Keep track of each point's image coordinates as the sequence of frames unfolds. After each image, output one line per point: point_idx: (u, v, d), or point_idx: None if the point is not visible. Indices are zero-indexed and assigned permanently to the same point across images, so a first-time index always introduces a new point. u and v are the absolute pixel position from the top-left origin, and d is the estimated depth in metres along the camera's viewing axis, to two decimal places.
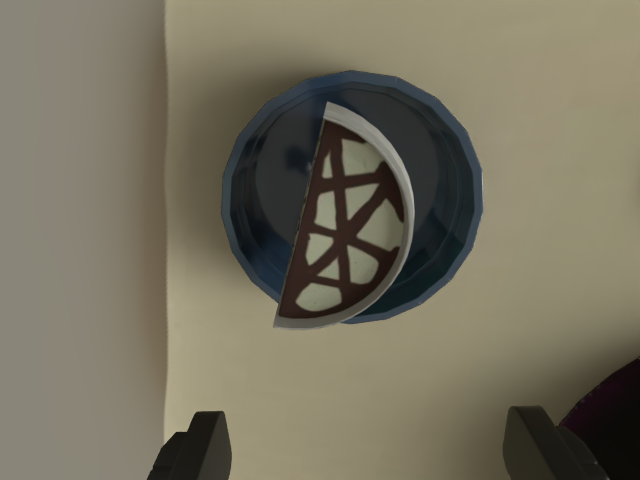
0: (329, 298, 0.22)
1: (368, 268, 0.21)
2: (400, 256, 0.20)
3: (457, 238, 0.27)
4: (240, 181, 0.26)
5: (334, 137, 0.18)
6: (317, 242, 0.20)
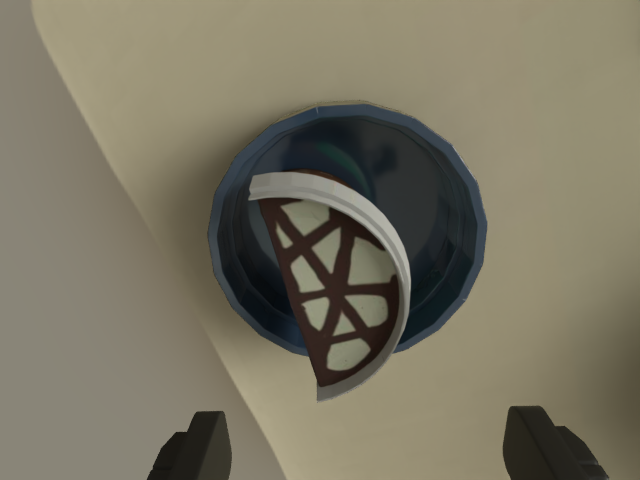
0: (357, 350, 0.20)
1: (377, 307, 0.19)
2: (400, 284, 0.18)
3: (469, 218, 0.24)
4: (237, 266, 0.26)
5: (273, 208, 0.17)
6: (313, 307, 0.19)
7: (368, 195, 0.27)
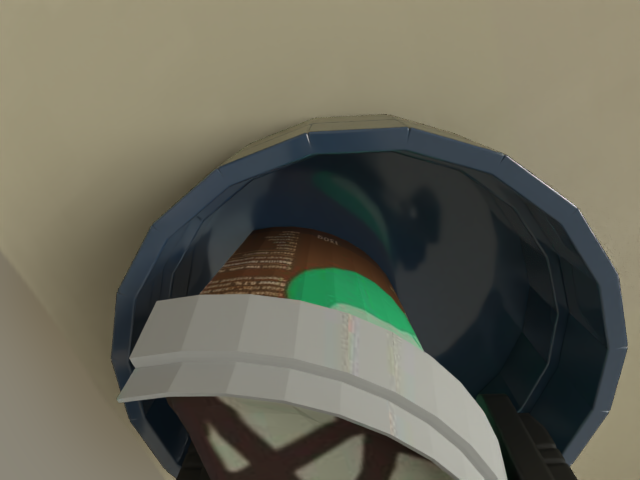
0: None
1: None
2: None
3: (581, 325, 0.13)
4: None
5: (196, 397, 0.07)
6: None
7: (396, 269, 0.16)
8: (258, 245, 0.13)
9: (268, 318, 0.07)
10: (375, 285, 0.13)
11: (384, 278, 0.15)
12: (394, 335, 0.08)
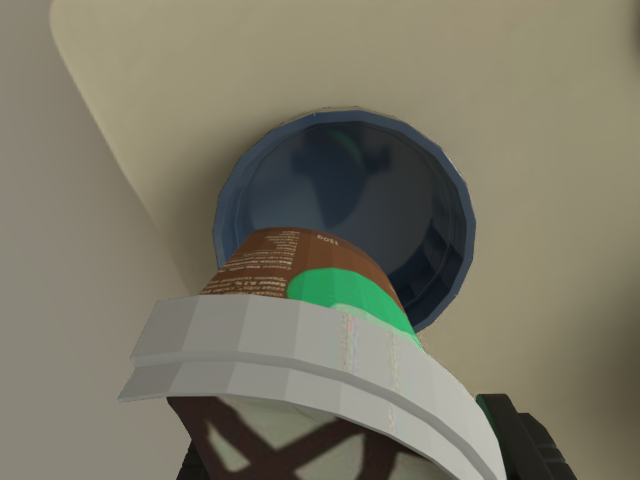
0: None
1: None
2: None
3: (459, 217, 0.25)
4: None
5: (196, 396, 0.07)
6: None
7: (364, 196, 0.28)
8: (258, 245, 0.13)
9: (268, 318, 0.07)
10: (375, 285, 0.13)
11: (384, 278, 0.15)
12: (394, 335, 0.08)
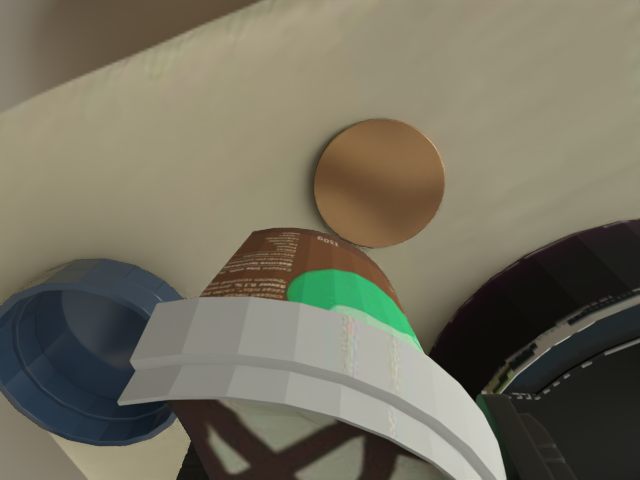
0: None
1: None
2: None
3: None
4: (28, 374, 0.35)
5: (196, 399, 0.07)
6: None
7: (128, 320, 0.35)
8: (258, 246, 0.13)
9: (268, 321, 0.07)
10: (375, 286, 0.13)
11: (384, 279, 0.15)
12: (394, 337, 0.08)
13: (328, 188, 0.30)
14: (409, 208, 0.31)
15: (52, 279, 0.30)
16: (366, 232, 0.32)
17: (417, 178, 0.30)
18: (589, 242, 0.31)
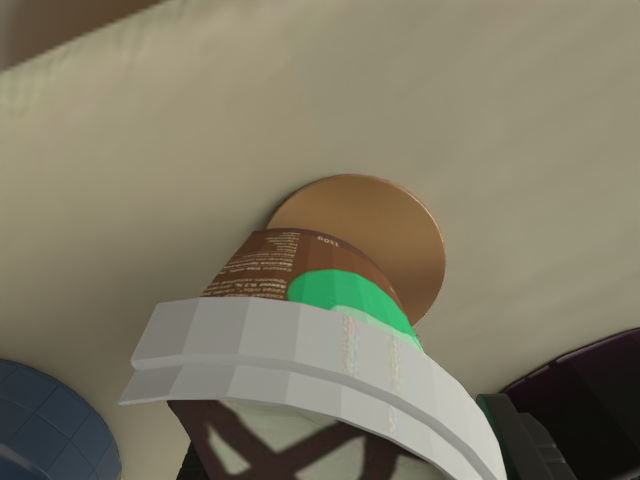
0: None
1: None
2: None
3: None
4: None
5: (197, 399, 0.07)
6: None
7: None
8: (258, 246, 0.13)
9: (269, 321, 0.07)
10: (375, 286, 0.13)
11: (384, 279, 0.15)
12: (394, 337, 0.08)
13: None
14: None
15: None
16: None
17: (406, 258, 0.21)
18: None
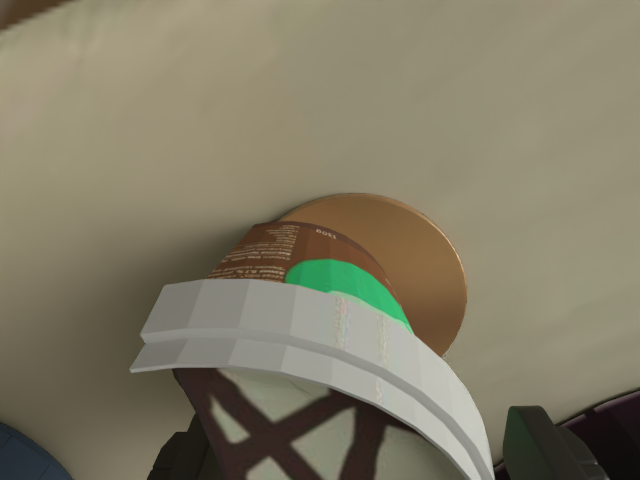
0: None
1: None
2: None
3: None
4: None
5: (200, 371, 0.08)
6: None
7: None
8: (259, 238, 0.14)
9: (267, 300, 0.08)
10: (370, 276, 0.13)
11: (380, 271, 0.16)
12: (384, 318, 0.08)
13: None
14: None
15: None
16: None
17: (419, 293, 0.17)
18: None
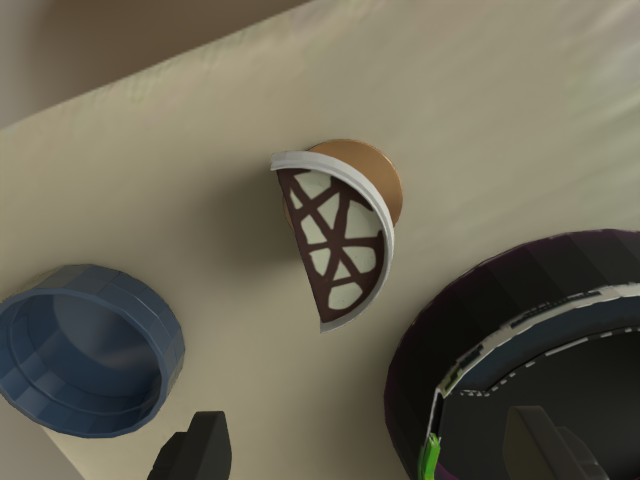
0: (352, 292, 0.26)
1: (367, 257, 0.25)
2: (384, 236, 0.24)
3: None
4: (21, 371, 0.38)
5: (288, 177, 0.23)
6: (318, 256, 0.25)
7: (114, 321, 0.38)
8: None
9: (309, 155, 0.23)
10: None
11: None
12: (349, 165, 0.24)
13: None
14: None
15: (42, 284, 0.33)
16: None
17: None
18: (535, 252, 0.34)
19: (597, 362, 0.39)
